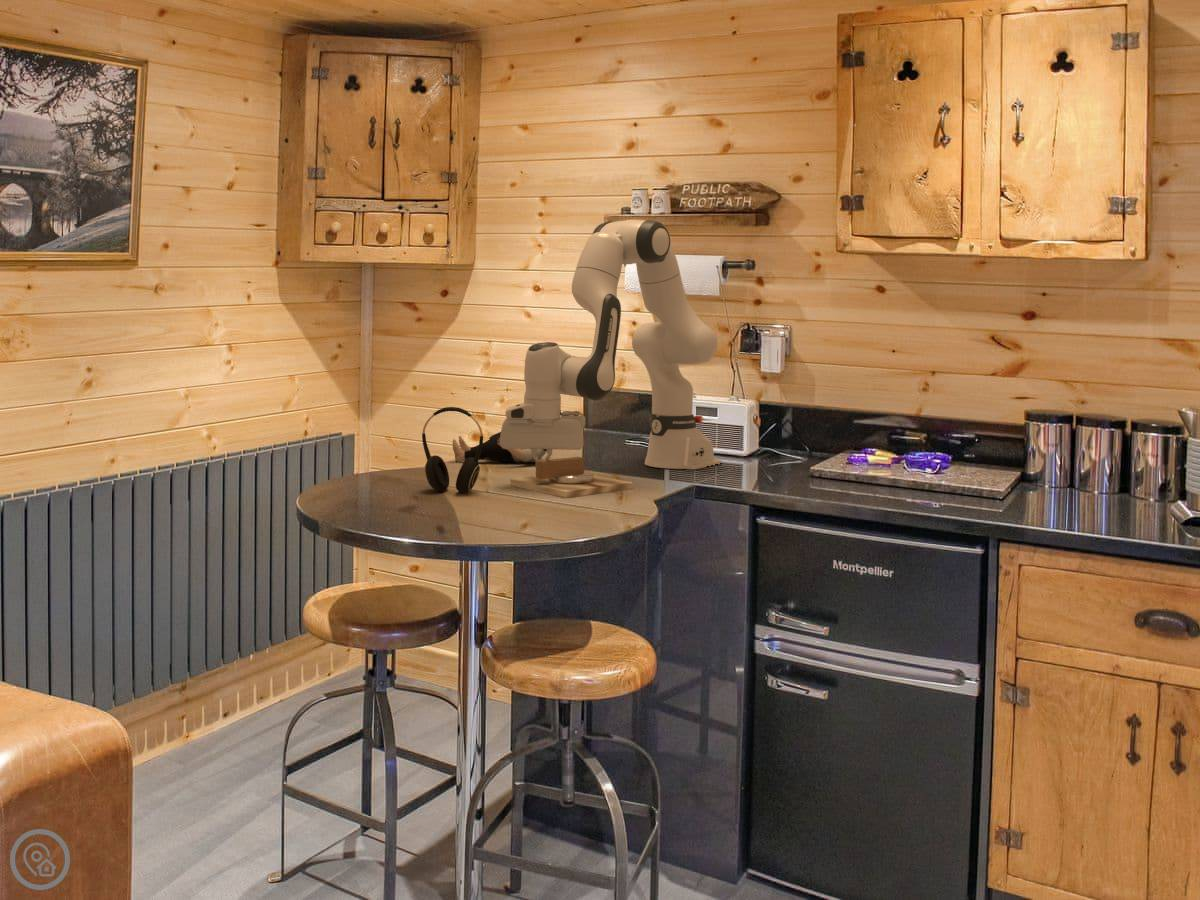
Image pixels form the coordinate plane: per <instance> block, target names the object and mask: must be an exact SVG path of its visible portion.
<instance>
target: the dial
mask: <svg viewBox="0 0 1200 900" xmlns="http://www.w3.org/2000/svg"><path fill="white" fill-rule="evenodd" d="M542 460H543V461H535V476H536V478H538V479H549V480H550V481H552V482H558V483H588V482H592V481H594V475H595V473H594V472H590V471H586V470H585V457H581V456H572V457H570V456H569V457H563V458H554V459H553V458H552V459H549V460H545V459H542Z"/></svg>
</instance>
